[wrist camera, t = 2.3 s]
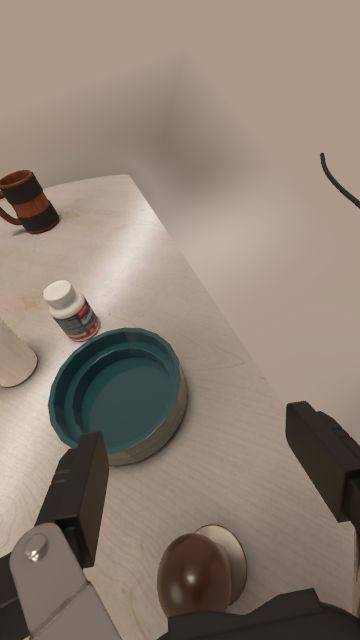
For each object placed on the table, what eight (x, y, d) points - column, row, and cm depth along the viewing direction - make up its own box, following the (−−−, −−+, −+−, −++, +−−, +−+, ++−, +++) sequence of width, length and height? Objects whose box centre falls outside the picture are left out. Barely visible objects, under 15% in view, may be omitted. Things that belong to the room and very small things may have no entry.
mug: (12, 228, 71) (-20, 183, 62) (57, 211, 73) (31, 165, 64) (14, 244, 66) (-21, 197, 57) (62, 225, 68) (35, 177, 59)
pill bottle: (97, 340, 43) (70, 301, 36) (65, 344, 43) (33, 307, 36) (102, 314, 46) (78, 274, 39) (72, 318, 46) (43, 280, 40)
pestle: (202, 513, 26) (166, 486, 14) (254, 546, 24) (270, 550, 12) (176, 578, 24) (103, 618, 11) (233, 621, 22) (222, 732, 9)
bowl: (117, 337, 42) (103, 315, 38) (207, 372, 36) (203, 349, 32) (47, 430, 35) (21, 414, 30) (146, 494, 28) (129, 486, 24)
